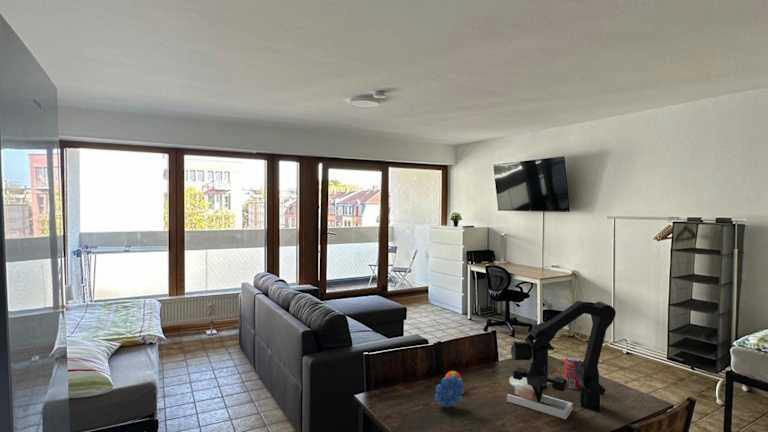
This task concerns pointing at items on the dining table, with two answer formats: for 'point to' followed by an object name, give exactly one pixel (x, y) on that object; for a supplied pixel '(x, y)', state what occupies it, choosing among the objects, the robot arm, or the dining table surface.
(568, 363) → the soda can
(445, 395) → the grapes
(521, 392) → the block
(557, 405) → the channel
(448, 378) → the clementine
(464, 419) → the dining table surface
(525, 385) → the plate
